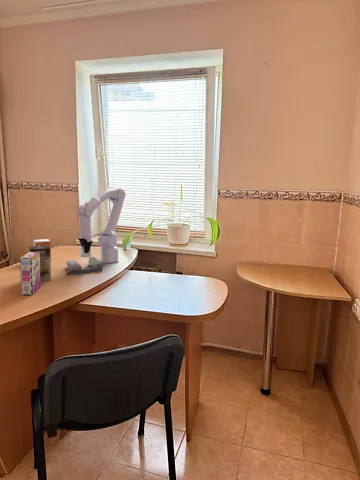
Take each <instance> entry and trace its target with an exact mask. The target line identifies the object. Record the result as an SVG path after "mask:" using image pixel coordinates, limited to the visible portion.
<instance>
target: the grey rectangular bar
mask: <svg viewBox="0 0 360 480" xmlns="http://www.w3.org/2000/svg"><path fill="white" fill-rule="evenodd" d="M66 268H67V269H68V270H74V271H75V270H82V269H83V268H82V266H81V265H80V264H79V263H78V262H77V261H76V260H75V259H74V260H66Z"/></svg>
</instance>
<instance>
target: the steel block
mask: <svg viewBox="0 0 360 480" xmlns="http://www.w3.org/2000/svg"><path fill="white" fill-rule="evenodd" d="M78 248H79V257H80V258H89V257H92V246H91V247H90V251H89V253H85V252H84V246H83V245H81V244H79V247H78Z"/></svg>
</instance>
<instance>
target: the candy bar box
mask: <svg viewBox="0 0 360 480" xmlns="http://www.w3.org/2000/svg"><path fill="white" fill-rule="evenodd" d="M19 270H20V292H21V294H20V295H21V296H33V295H34V294H35V293H37V291H38V290H39V289H40V288H41V287H42V285H41V284H42V283H41V282H42V281H41V279H40V252H29V251H28V252H27V253H25V254H24V255H22V256H20V257H19Z"/></svg>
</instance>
